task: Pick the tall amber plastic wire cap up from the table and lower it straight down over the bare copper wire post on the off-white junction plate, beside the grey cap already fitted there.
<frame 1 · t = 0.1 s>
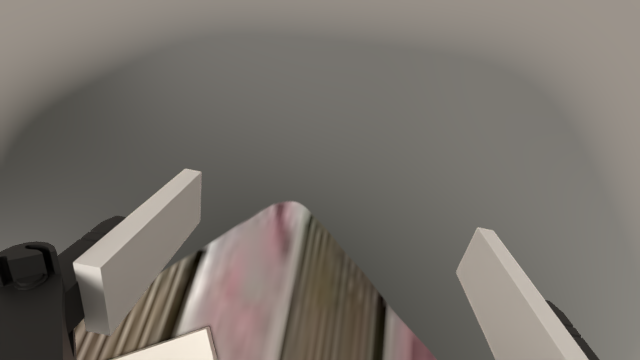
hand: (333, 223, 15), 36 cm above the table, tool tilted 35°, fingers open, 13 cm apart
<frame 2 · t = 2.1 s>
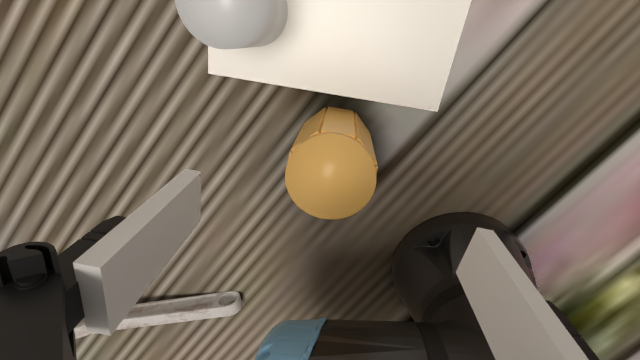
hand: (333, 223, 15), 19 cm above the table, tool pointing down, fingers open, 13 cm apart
wrench: (145, 297, 45), on the table
wire cap: (334, 141, 33), on the table
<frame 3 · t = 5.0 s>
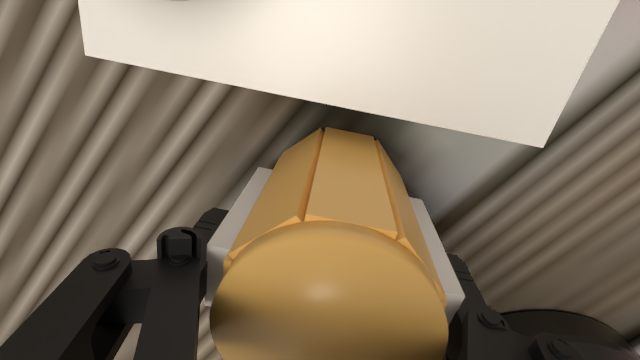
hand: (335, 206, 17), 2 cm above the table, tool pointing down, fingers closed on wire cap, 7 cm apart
wire cap: (336, 188, 18), on the table, touching gripper
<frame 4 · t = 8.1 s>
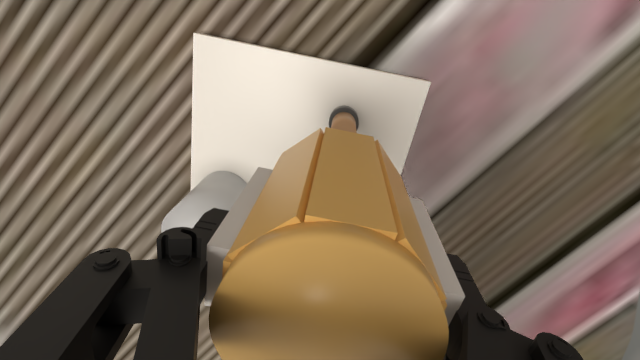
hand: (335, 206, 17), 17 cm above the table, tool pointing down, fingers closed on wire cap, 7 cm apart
junction plate: (296, 162, 35), on the table
wire cap: (336, 189, 18), point 15 cm above the table, touching gripper
when the fingers open (6 cm above the table, at t = 11.5 s): wire cap drops 2 cm, resting on junction plate.
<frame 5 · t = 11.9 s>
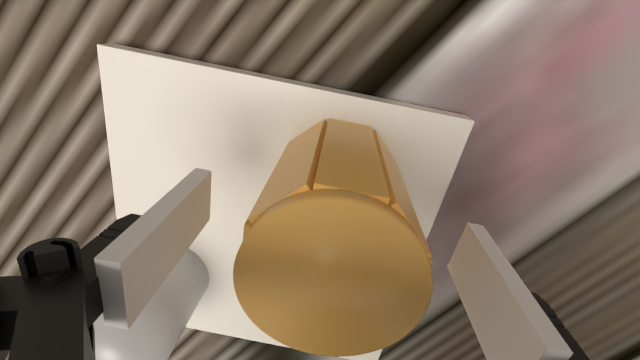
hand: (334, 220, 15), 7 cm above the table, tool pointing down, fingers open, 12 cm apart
junction plate: (270, 226, 24), on the table
wire cap: (337, 174, 20), point 1 cm above the table, touching junction plate
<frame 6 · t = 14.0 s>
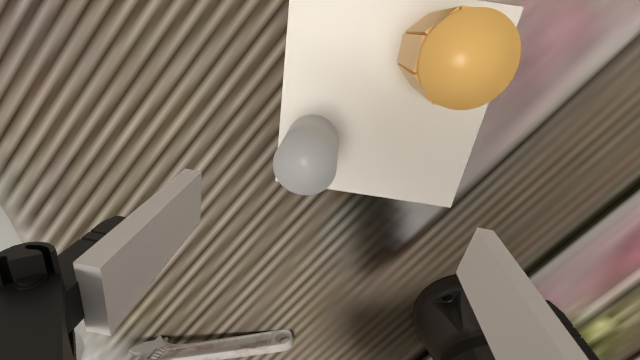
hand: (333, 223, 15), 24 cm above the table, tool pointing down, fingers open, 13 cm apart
junction plate: (380, 103, 36), on the table
wrench: (212, 334, 55), on the table
wire cap: (434, 53, 32), point 1 cm above the table, touching junction plate
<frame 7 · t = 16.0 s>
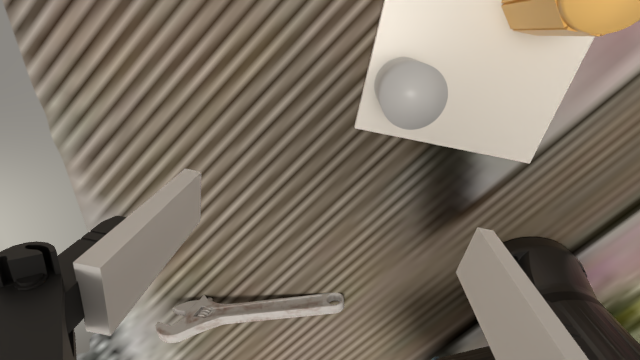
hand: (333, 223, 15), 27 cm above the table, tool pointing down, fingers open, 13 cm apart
junction plate: (472, 50, 35), on the table
wrench: (258, 296, 54), on the table
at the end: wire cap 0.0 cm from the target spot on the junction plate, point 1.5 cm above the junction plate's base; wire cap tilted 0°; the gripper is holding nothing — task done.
